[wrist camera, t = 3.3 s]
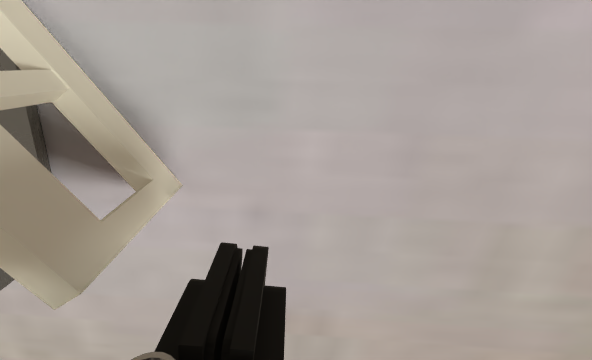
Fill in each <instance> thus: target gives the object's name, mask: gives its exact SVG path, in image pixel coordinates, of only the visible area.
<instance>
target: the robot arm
mask: <svg viewBox="0 0 592 360" xmlns="http://www.w3.org/2000/svg"><path fill="white" fill-rule="evenodd" d="M267 258H268V247H262V246H253V249H252V250H250V249H247V250H246V254H245V258H244V262H243V266H242V249H240V248H237V244H232V243H221V244H220V246H219V248H218V251H217V253H216V255H215V258H214V260H213V263H212V265H211V267H210V270H209V272H208V275H207V277H206V279H205V280H199V279H191V280H190V281H189V283H188V285H187V287H186V289H185V291H184V293H183V295H182V297H181V299H180V301H179V303H178V305H177V307H176V309H175V311H174V313H173V315H172V317H171V319H170V321H169V323H168V325H167V327H166V329H165V331H164V333H163V335H162V337H161V339H160V342H159V344H158V346H157V348H156V350H155V352H150V353H144V354H142V355H140V356H137V357H135V358H133V359H132V360H284V337H285V307H286V287H275V286H265V277H266V267H267ZM241 266H242V270H241Z"/></svg>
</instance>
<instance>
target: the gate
mask: <svg viewBox="0 0 592 360" xmlns="http://www.w3.org/2000/svg"><path fill="white" fill-rule="evenodd" d="M0 48H1V49H2V50H3V51H4V52H5V54H6V55H7V56H8V57H9V58H10V59H11V60H12V61H13V62H14V63H15V64H16V65H17V66H18V67H19V68H20V69H21V70H13V71H0V110H6V109H12V108H19V107H25V106H31V105H37V104H43V103H49V102H52V103H53V104H54V105H55V106H56V107H57V108H58V110H59V111H60V112H61V113H62V114H63V115H64V116H65V117H66V118H67V119H68V120H69V121H70V122H71V123H72V124H73V125H74V126H75V127H76V129H77V130H78V131H79V132H80V133H81V134H82V135H83V136H84V137H85V138H86V139H87V140H88V141H89V142H90V143H91V144H92V145H93V147H94V148H95V149H96V150H97V151H98V152H99V153H100V154H101V155H102V156H103V157H104V158H105V159H106V160H107V161H108V162H109V163H110V164H111V166H112V167H113V168H114V169H115V170H116V171H117V172H118V173H119V174H120V175H121V176H122V177H123V178H124V179H125V180H126V181H127V182H128V183H129V185H130V186H131V187H132V188H133V189H134V190H135V191H136V192H135V193H134V194H133V195H131V196H130V197H129V198H128V199H126V200H125V201H124V202H123V203H121V204H120V205H119V206H118V207H116V208H115V209H114V210H113V211H111V212H110V213H109V214H108V215H106V216H105V217H104V218H103V219H102V220H99V219H98V218H97V217H96V216H95V215H94V214H93V213H92V212H91V211H90V210H89V209H88V208H87V207H86V206H85V205H84V204H83V203H82V202H81V201H80V200H78V199H77V198H76V197H75V196H74V195H73V194H72V193H71V192H70V191H69V190H68V189H67V188H66V187H65V186H64V185H63V184H62V183H61V182H60V181H59V180H58V179H57V178H56V177H55V176H53V175H52V174H51V173H50V172H49V171H48V170H47V169H46V168H45V167H44V166H43V165H42V164H41V163H40V162H39V161H38V160H37V159H36V158H35V157H34V156H33V155H32V154H31V153H29V152H28V151H27V150H26V149H25V148H24V147H23V146H22V145H21V144H20V143H19V142H18V141H17V140H16V139H15V138H14V137H13V136H12V135H11V134H10V133H9V132H8V131H7V130H5V129H4V128H3V127H2V126H1V125H0V268H1V269H2V270H3V271H5V272H6V273H7V274H9V275H10V276H11V277H12V278H14V279H15V280H16V281H18V282H19V283H20V284H21V285H23V286H24V287H25V288H27V289H28V290H29V291H31V292H32V293H33V294H34V295H36V296H37V297H38V298H40V299H41V300H42V301H43V302H45V303H46V304H47V305H49V306H50V307H51V308H52V309H54V310H55V309H57V308H59V307H60V306H62V305H64V304H65V303H67V302H68V301H70V300H72V299H73V298H75V297H77V296H78V295H80V294H81V293H82V292H83V291H84V290H85V289H86V288H87V287H88V286H89V285H90V284H91V283H92V282H93V281H94V279H95V278H96V277H97V276H98V275H99V274H100V273H101V272H102V271H103V270H104V269H105V268H106V267H107V266H108V264H109V263H110V262H111V261H112V260H113V259H114V258H115V257H116V256H117V255H118V254H119V253H120V252H121V251H122V250H123V248H124V247H125V246H126V245H127V244H128V243H129V242H130V241H131V240H132V239H133V238H134V237H135V236H136V235H137V234H138V232H139V231H140V230H141V229H142V228H143V227H144V226H145V225H146V224H147V223H148V222H149V221H150V220H151V219H152V217H153V216H154V215H155V214H156V213H157V212H158V211H159V210H160V209H161V208H162V207H163V206H164V205H165V204H166V203H167V201H168V200H169V199H170V198H171V197H172V196H173V195H174V194H175V193H176V192H177V191H178V190H179V189H180V188H181V187H182V184H181V183H180V182H179V181H178V180H177V179H176V177H175V176H174V175H173V174H172V173H171V172H170V170H169V169H168V168H167V167H166V166H165V165H164V164H163V162H162V161H161V160H160V159H159V158H158V157H157V156H156V154H155V153H154V152H153V151H152V150H151V149H150V148H149V146H148V145H147V144H146V143H145V142H144V141H143V139H142V138H141V137H140V136H139V135H138V134H137V133H136V131H135V130H134V129H133V128H132V127H131V126H130V125H129V123H128V122H127V121H126V120H125V119H124V118H123V117H122V115H121V114H120V113H119V112H118V111H117V110H116V108H115V107H114V106H113V105H112V104H111V103H110V102H109V100H108V99H107V98H106V97H105V96H104V95H103V94H102V92H101V91H100V90H99V89H98V88H97V87H96V86H95V84H94V83H93V82H92V81H91V80H90V79H89V77H88V76H87V75H86V74H85V73H84V72H83V71H82V69H81V68H80V67H79V66H78V65H77V64H76V63H75V61H74V60H73V59H72V58H71V57H70V56H69V54H68V53H67V52H66V51H65V50H64V49H63V48H62V46H61V45H60V44H59V43H58V42H57V41H56V40H55V38H54V37H53V36H52V35H51V34H50V33H49V32H48V30H47V29H46V28H45V27H44V26H43V25H42V23H41V22H40V21H39V20H38V19H37V18H36V17H35V15H34V14H33V13H32V12H31V11H30V10H29V9H28V7H27V6H26V5H25V4H24V3H23V2H22V1H21V0H0Z"/></svg>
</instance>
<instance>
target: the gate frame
mask: <svg viewBox="0 0 592 360" xmlns="http://www.w3.org/2000/svg"><path fill="white" fill-rule="evenodd" d="M13 70H21V69H20V68H19V67H18V66H17V65H16V64H15V63H14V62H13V61H12V60H11V59H10V58H9V57H8V56H7V55H6V54H5V52H4V51H3V50H2V49H1V48H0V71H13ZM0 125H1V126H2V127H3V128H4V129H5V130H7V131H8V132H9V133H10V134H11V135H12V136H13V137H14V138H15V139H16V140H17V141H18V142H19V143H20V144H21V145H22V146H23V147H24V148H25V149H26V150H27V151H28V152H29V153H31V154H32V155H33V156H34V157H35V158H36V159H37V160H38V161H39V162H40V163H41V164H42V165H43V166H44V167H45V168H46V169H47V170H48V171H49V172H50V173H51V170H50V165H49V161H48V156H47V152H46V147H45V143H44V138H43V134H42V129H41V125H40V120H39V116H38V111H37V107H36V105H31V106H25V107H19V108H12V109H6V110H0ZM13 280H15V279H14V278H12V277H11V276H10V275H9V274H7V273H6V272H5V271H3V270H2V269H1V268H0V290H2V289H3V288H4V287H6V286H7V285H8V284H10V283H11V282H12V281H13Z"/></svg>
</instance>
